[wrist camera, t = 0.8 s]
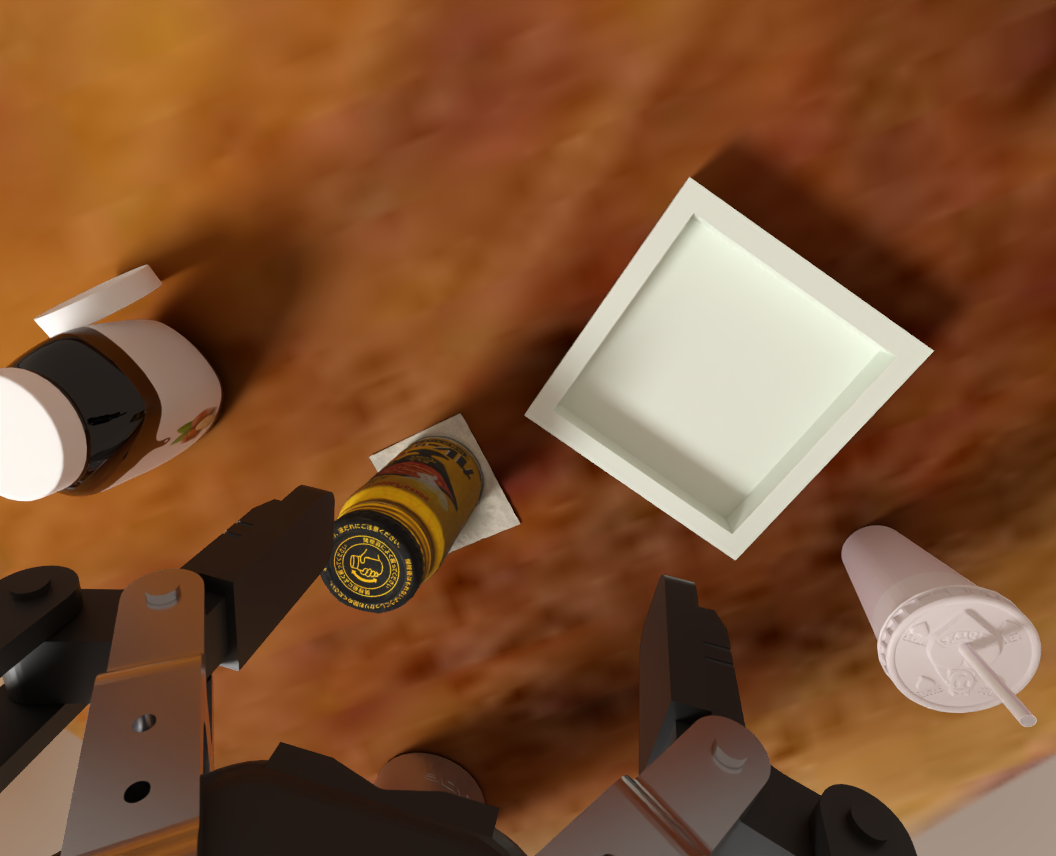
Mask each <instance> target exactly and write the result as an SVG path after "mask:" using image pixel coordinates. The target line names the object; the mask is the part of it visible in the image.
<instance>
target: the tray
mask: <svg viewBox="0 0 1056 856" xmlns="http://www.w3.org/2000/svg"><path fill="white" fill-rule="evenodd" d="M932 352H933V350H932V349H930V348H929V347H928V346H926V345H925V344H923V343H922V342H921V341H919V340H918V339H916V338H915V337H914V336H912V335H911V334H909V333H908V332H907V331H905V330H904V329H902V328H901V327H900V326H898V325H897V324H895V323H894V322H893V321H891V320H890V319H888V318H887V317H885V316H884V315H883V314H881V313H880V312H878V311H877V310H876V309H874V308H873V307H871V306H870V305H869V304H867V303H866V302H864V301H863V300H862V299H860V298H859V297H857V296H856V295H855V294H853V293H852V292H850V291H849V290H848V289H846V288H845V287H843V286H842V285H841V284H839V283H838V282H836V281H835V280H833V279H832V278H831V277H829V276H828V275H826V274H825V273H824V272H822V271H821V270H819V269H818V268H817V267H815V266H814V265H812V264H811V263H810V262H808V261H807V260H805V259H804V258H803V257H801V256H800V255H798V254H797V253H796V252H794V251H793V250H791V249H790V248H789V247H787V246H786V245H784V244H783V243H781V242H780V241H779V240H777V239H776V238H774V237H773V236H772V235H770V234H769V233H767V232H766V231H765V230H763V229H762V228H760V227H759V226H758V225H756V224H755V223H753V222H752V221H751V220H749V219H748V218H746V217H745V216H744V215H742V214H741V213H739V212H738V211H737V210H735V209H734V208H732V207H731V206H730V205H728V204H727V203H725V202H724V201H722V200H721V199H720V198H718V197H717V196H715V195H714V194H713V193H711V192H710V191H708V190H707V189H706V188H704V187H703V186H701V185H700V184H699V183H697V182H696V181H694V180H693V179H692V178H690V177H689V178H688V180H687V181H686V182H685V183H684V184H683V186H682V187H681V189H680V190H679V192H678V193H677V195H676V196H675V197H674V199H673V200H672V202H671V203H670V205H669V206H668V208H667V209H666V210H665V212H664V213H663V215H662V216H661V218H660V219H659V220H658V222H657V223H656V225H655V226H654V228H653V229H652V231H651V232H650V233H649V235H648V236H647V238H646V239H645V241H644V242H643V244H642V245H641V246H640V248H639V249H638V251H637V252H636V254H635V255H634V257H633V258H632V259H631V261H630V262H629V264H628V265H627V267H626V268H625V270H624V271H623V272H622V274H621V275H620V277H619V278H618V280H617V281H616V283H615V284H614V285H613V287H612V288H611V290H610V291H609V293H608V294H607V296H606V297H605V298H604V300H603V301H602V303H601V304H600V306H599V307H598V308H597V310H596V311H595V313H594V314H593V316H592V317H591V319H590V320H589V321H588V323H587V324H586V326H585V327H584V329H583V330H582V332H581V333H580V334H579V336H578V337H577V339H576V340H575V342H574V343H573V345H572V346H571V347H570V349H569V350H568V352H567V353H566V355H565V356H564V358H563V359H562V360H561V362H560V363H559V365H558V366H557V368H556V369H555V371H554V372H553V373H552V375H551V376H550V378H549V379H548V381H547V382H546V384H545V385H544V386H543V388H542V389H541V391H540V392H539V394H538V395H537V396H536V398H535V399H534V401H533V402H532V404H531V405H530V407H529V409H528V410H527V412H526V413H525V416H526V417H527V418H529V419H530V420H532V421H533V422H535V423H536V424H538V425H539V426H541V427H542V428H543V429H545V430H546V431H548V432H549V433H551V434H552V435H554V436H555V437H557V438H558V439H559V440H561V441H562V442H564V443H565V444H567V445H568V446H570V447H571V448H573V449H574V450H575V451H577V452H578V453H580V454H581V455H583V456H584V457H586V458H587V459H589V460H590V461H591V462H593V463H594V464H596V465H597V466H599V467H600V468H602V469H603V470H605V471H606V472H607V473H609V474H610V475H612V476H613V477H615V478H616V479H618V480H619V481H621V482H622V483H623V484H625V485H626V486H628V487H629V488H631V489H632V490H634V491H635V492H637V493H638V494H639V495H641V496H642V497H644V498H645V499H647V500H648V501H650V502H651V503H653V504H654V505H655V506H657V507H658V508H660V509H661V510H663V511H664V512H666V513H667V514H669V515H670V516H671V517H673V518H674V519H676V520H677V521H679V522H680V523H682V524H683V525H685V526H686V527H687V528H689V529H690V530H692V531H693V532H695V533H696V534H698V535H699V536H701V537H702V538H703V539H705V540H706V541H708V542H709V543H711V544H712V545H714V546H715V547H716V548H718V549H719V550H721V551H722V552H724V553H725V554H727V555H728V556H730V557H731V558H732V559H734V560H736V559H737V558H738V557H739V556H740V555H741V554H742V553H743V552H744V551H745V550H746V549H747V548H748V547H749V546H750V545H751V543H752V542H753V541H754V540H755V539H756V538H757V537H758V536H759V535H760V534H761V533H762V532H763V531H764V530H765V529H766V528H767V527H768V526H769V524H770V523H771V522H772V521H773V520H774V519H775V518H776V517H777V516H778V515H779V514H780V513H781V512H782V511H783V510H784V509H785V508H786V507H787V505H788V504H789V503H790V502H791V501H792V500H793V499H794V498H795V497H796V496H797V495H798V494H799V493H800V492H801V491H802V490H803V489H804V488H805V486H806V485H807V484H808V483H809V482H810V481H811V480H812V479H813V478H814V477H815V476H816V475H817V474H818V473H819V472H820V471H821V470H822V469H823V467H824V466H825V465H826V464H827V463H828V462H829V461H830V460H831V459H832V458H833V457H834V456H835V455H836V454H837V453H838V452H839V451H840V450H841V448H842V447H843V446H844V445H845V444H846V443H847V442H848V441H849V440H850V439H851V438H852V437H853V436H854V435H855V434H856V433H857V432H858V431H859V429H860V428H861V427H862V426H863V425H864V424H865V423H866V422H867V421H868V420H869V419H870V418H871V417H872V416H873V415H874V414H875V413H876V411H877V410H878V409H879V408H880V407H881V406H882V405H883V404H884V403H885V402H886V401H887V400H888V399H889V398H890V397H891V396H892V395H893V394H894V392H895V391H896V390H897V389H898V388H899V387H900V386H901V385H902V384H903V383H904V382H905V381H906V380H907V379H908V378H909V377H910V376H911V375H912V373H913V372H914V371H915V370H916V369H917V368H918V367H919V366H920V365H921V364H922V363H923V362H924V361H925V360H926V359H927V358H928V357H929V356H930V354H931V353H932Z"/></svg>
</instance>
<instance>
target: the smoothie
mask: <svg viewBox="0 0 1056 856" xmlns="http://www.w3.org/2000/svg"><path fill="white" fill-rule="evenodd" d="M842 561H843V563H844V566H845V568H846V570H847V572H848V575H849V577H850V579H851V581H852V584H853V586H854V588H855V590H856V593H857V595H858V597H859V599H860V602H861V604H862V606H863V608H864V611H865V613H866V615H867V617H868V620H869V622H870V624H871V627H872V629H873V631H874V634H875V636H876V638H877V641H878V642H877V649H878V657H879V661H880V663H881V665H882V667H883V669H884V671H885V673H886V674H887V675H888V677H889V678H890V679H891V680H892V681H893V683H894V684H895V686H896V687H897V688H898V689H899V690H900V691H901V692H902V693H903V694H904V695H905V696H906V697H908V698H909V699H910V700H912V701H914V702H916V703H917V704H920V705H922V706H924V707H927V708H930V709H933V710H937V711H942V712H952V713H965V712H974V711H980V710H984V709H988V708H991V707H993V706H996V705H999V704H1001V703H1003V704H1004V705H1005V706H1006V707H1007V708H1008V710H1009V711H1010V712H1011V713H1012V714H1013V715H1014V717H1015V718H1016V719H1017V720H1018V721H1019V722H1020V724H1021V725H1022V726H1025V727H1031V726H1033V725H1035V724H1036V722H1037V719H1036V718H1035V716H1034V715H1033V714H1032V713H1031V712H1030V711H1029V710H1028V709H1027V707H1026V706H1025V705H1024V704H1023V703H1022V702H1021V701H1020V700H1019V699H1018V697H1017V696H1016V694H1017V693H1019V692H1020V691H1021V690H1022V689H1023V688H1024V687H1025V686H1026V685H1027V684H1028V683H1029V681H1030V680H1031V679H1032V677H1033V676H1034V674H1035V672H1036V670H1037V668H1038V665H1039V662H1040V657H1041V643H1040V638H1039V635H1038V633H1037V631H1036V629H1035V627H1034V625H1033V624H1032V622H1031V621H1030V620H1029V619H1028V618H1027V617H1026V616H1025V615H1024V614H1023V613H1022V612H1021V611H1020V610H1019V609H1018V608H1017V607H1016V606H1015V604H1014V603H1013V602H1012V601H1010V600H1009V599H1007V598H1006V597H1004V596H1002V595H1001V594H999V593H997V592H996V591H992V590H989V589H986V588H982V587H979V586H977V585H975V584H974V583H973V582H971V581H969V580H968V579H966V578H965V577H963V576H962V575H960V574H959V573H957V572H956V571H954V570H953V569H952V568H950V567H949V566H947V565H946V564H944V563H943V562H941V561H940V560H938V559H937V558H935V557H934V556H932V555H931V554H929V553H928V552H926V551H925V550H924V549H922V548H921V547H919V546H918V545H916V544H915V543H913V542H912V541H910V540H909V539H907V538H906V537H904V536H903V535H901V534H900V533H898V532H897V531H895V530H894V529H892V528H889V527H886V526H880V525H874V526H867V527H864V528H861V529H859V530H857V531H855V532H854V533H853V534H851V535H850V536H849V537H848V538H847V540H846V541H845V543H844V545H843V548H842Z"/></svg>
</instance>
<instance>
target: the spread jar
mask: <svg viewBox="0 0 1056 856" xmlns="http://www.w3.org/2000/svg"><path fill="white" fill-rule="evenodd" d="M161 285H162V282H161V281H160V280H159V278H158V277H157V276H156V274H155V273H154V272H153V270H152V269H151V268H150V266H149V265H144V266H141V267H138V268H136V269H133V270H131V271H129V272H126V273H124V274H122V275H120V276H117V277H115V278H113V279H111V280H109V281H106V282H104V283H102V284H100V285H98V286H96V287H94V288H91V289H89V290H87V291H85V292H83V293H81V294H79V295H77V296H75V297H73V298H71V299H69V300H67V301H65V302H63V303H61V304H59V305H57V306H55V307H53V308H51V309H50V310H48V311H46V312H44V313H42V314H40V315H39V316H37V317H36V318H34V320H35V321H36V323H37V324H38V325H39V326H40V327H41V328H42V329H43V330H44V331H45V332H46V334H47V335H48V336H49V337H50V338H48V339H46V340H45V341H43V342H41V343H39V344H38V345H36V346H34V347H32V348H31V349H29V350H28V351H27V352H25V353H24V354H22V355H21V356H20V357H18V358H17V359H15V360H14V361H13V362H12V363H10V364H9V365H8V366H7V367H6V368H0V496H3V497H6V498H8V499H13V500H18V501H32V500H36V499H40V498H43V497H45V496H48V495H50V494H53V493H55V492H57V493H60V494H63V495H67V496H75V497H83V496H88V495H92V494H96V493H99V492H102V491H105V490H107V489H110V488H112V487H114V486H117V485H119V484H121V483H123V482H125V481H128V480H130V479H132V478H134V477H137V476H139V475H141V474H143V473H145V472H147V471H150V470H152V469H154V468H156V467H158V466H159V465H161V464H163V463H165V462H167V461H169V460H170V459H172V458H174V457H175V456H177V455H178V454H180V453H182V452H183V451H184V450H186V449H187V448H189V447H190V446H191V445H193V444H194V443H195V442H196V441H198V440H199V439H200V438H201V437H202V436H204V435H205V434H206V433H207V432H208V431H209V429H210V428H211V427H212V426H213V425H214V423H215V422H216V420H217V418H218V416H219V414H220V412H221V409H222V405H223V400H224V391H223V386H222V382H221V380H220V377H219V375H218V373H217V371H216V370H215V368H214V367H213V365H212V364H211V362H210V361H209V360H208V358H207V357H206V356H205V355H204V353H203V352H202V351H201V350H200V349H199V348H198V347H197V346H196V345H194V344H193V343H192V342H191V341H190V340H189V339H188V338H186V337H185V336H184V335H182V334H181V333H179V332H178V331H176V330H174V329H173V328H171V327H169V326H167V325H165V324H163V323H161V322H158V321H154V320H146V319H137V320H125V321H117V322H109V323H101V324H94V325H90V324H92V323H94V322H96V321H99V320H101V319H103V318H105V317H107V316H109V315H111V314H113V313H115V312H117V311H119V310H121V309H123V308H124V307H126V306H128V305H130V304H132V303H134V302H136V301H137V300H139V299H141V298H143V297H144V296H146V295H148V294H149V293H151V292H153V291H154V290H156V289H157V288H159V287H160V286H161Z"/></svg>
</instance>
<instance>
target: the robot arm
mask: <svg viewBox="0 0 1056 856" xmlns="http://www.w3.org/2000/svg"><path fill="white" fill-rule="evenodd" d="M334 504H335V499H334V495H333V493H332V492H329V491H325V490H321V489H317V488H313V487H309V486H305V485H300V486H298V487H297V488H296V489H295V490H293V491H292V492H291V493H290V494H289V495H288V496H287V497H285V498H284V499H283V500H282V501H280V500H276V499H274V500H272V501H269V502H267V503H264V504H262V505H260V506H257V507H255V508H253V509H252V510H250V511H249V512H248V513H247V514H246V515H244V516H243V517H242V518H241V519H240V520H238V523H237V524H236V523H235V524H233V525H232V526H231V527H230V528H229V529H227V530H226V532H225V534H221V535H220V536H219V537H218V538H216V539H215V540H214V541H213V542H212V543H210V544H209V545H208V546H207V547H206V548H204V549H203V550H202V551H201V552H199V553H198V554H197V555H196V556H195V557H193V558H192V559H191V560H190V561H189V562H187V563H186V564H185V565H184V566H182V567H181V568H180V569H165V570H160V571H156V572H152V573H149V574H147V575H144V576H142V577H140V578H138V579H137V580H135V581H133V582H132V583H131V584H130V585H128V586H127V587H126V588H125V589H123V590H111V589H81V588H80V583H79V578H78V576H77V574H76V573H75V572H74V571H73V570H71V569H69V568H66V567H61V566H40V567H34V568H29V569H25V570H22V571H19V572H16V573H14V574H11V575H9V576H7V577H5V578H3V579H1V580H0V678H1V677H3V680H4V684H3V685H2V686H1V687H0V793H1V792H2V791H3V790H4V789H5V788H6V787H7V786H8V785H9V784H10V783H11V782H12V781H13V780H14V779H15V778H16V777H17V776H18V775H19V774H20V772H22V771H23V770H24V769H25V767H26V766H27V765H28V764H29V763H30V762H31V761H32V760H33V759H34V758H35V757H36V756H37V755H38V754H39V753H40V752H41V751H42V750H43V749H44V748H45V747H46V746H47V745H48V744H49V743H50V742H51V741H52V740H53V739H54V738H55V737H56V736H57V735H58V734H59V733H60V732H61V731H62V730H63V729H64V728H65V727H66V726H67V725H68V724H69V723H70V722H71V721H72V720H73V719H74V718H75V717H76V716H77V715H78V714H79V713H80V712H81V711H82V710H83V709H84V708H85V707H86V706H87V705H88V704H89V703H90V708H89V713H88V718H87V723H86V728H85V733H84V738H83V743H82V748H81V753H80V758H79V763H78V769H77V774H76V779H75V784H74V789H73V794H72V799H71V804H70V809H69V814H68V819H67V825H66V830H65V835H64V840H63V845H62V850H61V851H59V852H58V853H56V854H54V855H52V856H527V855H526V854H525V853H524V852H523V850H522V849H521V848H520V847H519V846H518V845H517V844H516V843H514V842H513V841H512V840H511V839H510V838H509V837H507V836H506V835H505V834H503V833H502V832H500V831H499V830H497V829H496V828H495V824H496V819H497V815H498V811H499V808H497V807H494V806H490V805H487V804H485V802H484V797H483V795H482V792H481V789H480V788H479V786H478V784H477V783H476V781H475V780H474V779H473V778H472V777H471V775H470V774H469V773H468V772H467V771H465V770H464V769H463V768H461V767H460V766H459V765H457V764H455V763H454V762H452V761H450V760H448V759H446V758H443V757H440V756H437V755H433V754H428V753H409V754H404V755H401V756H398V757H396V758H393V759H392V760H391V761H389V762H388V763H387V764H385V766H384V767H383V768H382V770H381V771H380V773H379V775H378V777H377V779H376V781H375V783H374V785H373V784H372V783H370V782H369V781H367V780H366V779H364V778H363V777H361V776H360V775H358V774H357V773H355V772H354V771H352V770H350V769H349V768H347V767H346V766H344V765H343V764H341V763H340V762H338V761H337V760H335V759H334V758H332V757H328V756H325V755H322V754H319V753H315V752H312V751H309V750H305V749H302V748H299V747H295V746H292V745H289V744H285V743H282V742H280V743H279V745H278V747H277V748H276V750H275V751H274V753H273V754H272V756H271V757H270V759H269V760H258V761H247V762H242V763H237V764H233V765H229V766H226V767H223V768H219V769H216V770H214V710H213V676H212V673H213V671H214V670H215V669H216V668H217V667H218V666H219V665H220V666H223V667H227V668H230V669H234V670H237V671H239V670H240V669H241V668H242V667H243V666H244V664H245V663H246V662H247V661H248V660H249V658H250V657H251V656H252V655H253V654H254V652H255V651H256V650H257V649H258V648H259V647H260V645H261V644H262V643H263V642H264V641H265V639H266V638H267V637H268V636H269V635H270V633H271V632H272V631H273V630H274V629H275V627H276V626H277V625H278V624H279V623H280V621H281V620H282V619H283V618H284V617H285V615H286V614H287V613H288V612H289V611H290V609H291V608H292V607H293V606H294V605H295V603H296V602H297V601H298V600H299V599H300V597H301V596H302V595H303V594H304V593H305V591H306V590H307V589H308V588H309V587H310V585H311V584H312V583H313V582H314V581H315V579H316V578H317V577H318V576H319V575H320V573H321V572H322V571H323V570H324V568H325V567H326V565H327V563H328V561H329V559H330V556H331V553H332V550H333V540H334ZM535 856H917V854H916V851H915V848H914V845H913V843H912V840H911V838H910V836H909V834H908V832H907V830H906V829H905V827H904V826H903V824H902V823H901V822H900V820H899V819H898V818H897V817H896V815H895V814H894V813H893V812H892V811H891V810H890V809H889V808H888V807H887V806H886V805H885V804H883V803H882V802H881V801H880V800H878V799H877V798H875V797H874V796H872V795H871V794H869V793H867V792H866V791H864V790H862V789H859V788H857V787H854V786H850V785H844V784H837V785H832V786H830V787H828V788H827V789H826V790H825V791H824V792H823V794H822V795H819V794H817V793H816V792H814V791H812V790H810V789H809V788H807V787H805V786H803V785H802V784H800V783H798V782H796V781H795V780H793V779H791V778H789V777H788V776H786V775H784V774H783V773H781V772H780V771H778V770H777V769H776V768H774V767H773V766H772V765H771V764H770V760H769V757H768V755H767V752H766V750H765V749H764V747H763V745H762V744H761V742H760V741H759V740H758V739H757V738H756V737H755V735H754V734H752V733H751V732H750V731H749V730H748V729H747V728H746V727H745V723H744V718H743V712H742V707H741V702H740V697H739V691H738V686H737V681H736V675H735V670H734V668H733V660H732V654H731V652H730V644H729V638H728V633H727V629H726V627H725V626H724V624H723V623H722V621H721V620H720V618H719V617H718V615H717V614H716V612H715V611H714V610H710V609H706V608H702V607H699V606H698V598H697V591H696V585H695V583H694V582H691V581H687V580H683V579H679V578H675V577H671V576H667V575H661V577H660V579H659V582H658V585H657V588H656V591H655V594H654V597H653V600H652V603H651V606H650V609H649V612H648V615H647V618H646V621H645V624H644V628H643V632H642V637H641V643H640V671H639V776H638V777H637V778H635V779H634V780H632V779H631V778H630V777H629V776H628V775H625V776H623V777H621V778H620V779H618V780H617V781H616V782H615V783H613V784H612V785H611V786H610V787H609V788H608V789H607V790H606V791H605V792H604V793H603V794H601V795H600V796H599V797H598V798H597V799H596V800H595V801H594V802H593V803H592V804H591V805H589V806H588V807H587V808H586V809H585V810H584V811H583V812H582V813H581V814H580V815H579V816H578V817H576V818H575V819H574V820H573V821H572V822H571V823H570V824H569V825H568V826H567V827H566V828H564V829H563V830H562V831H561V832H560V833H559V834H558V835H557V836H556V837H555V838H554V839H552V840H551V841H550V842H549V843H548V844H547V845H546V846H545V847H544V848H543V849H542V850H540V851H539V852H538V853H537V854H536V855H535Z"/></svg>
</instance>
